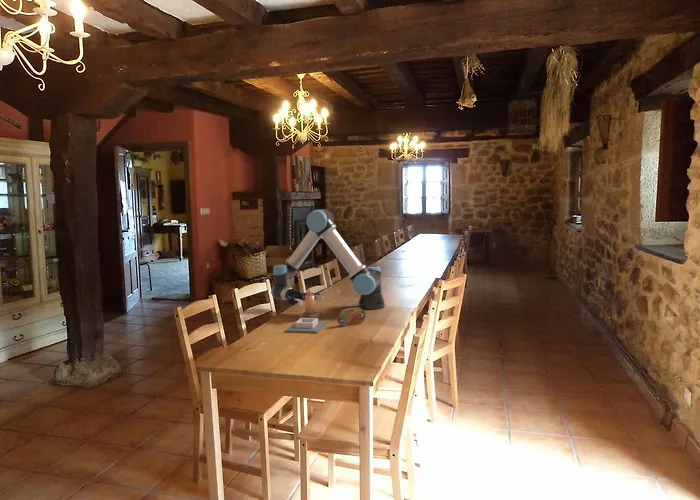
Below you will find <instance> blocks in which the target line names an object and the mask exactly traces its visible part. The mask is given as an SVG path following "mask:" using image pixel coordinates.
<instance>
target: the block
mask: <svg viewBox="0 0 700 500" xmlns="http://www.w3.org/2000/svg"><path fill="white" fill-rule="evenodd" d="M321 317H322V312H321V311H315V314H314V315H306V311H304V312H302V313H300V315H299V319H300V318H316V319H318V320H319V319H320V318H321Z"/></svg>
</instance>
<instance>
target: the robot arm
mask: <svg viewBox="0 0 700 500" xmlns="http://www.w3.org/2000/svg"><path fill="white" fill-rule="evenodd" d="M306 226H307V228H308V229H309V231H308V232H307V233H306V235H304V237H303V238H302V240H301V242H300V244H298V246H297V247H296V249H295V250H294V251H293V253H292V255H291V256H290V257H289V259H288V260H287V262H286V263H285V264H277V265H276V264H275V265H274V266H273V271H272V272H273V286H272V288H271V289H270V294H271V296H272V297H273V298H275V299H277V300H281V301H286V302H287V304H288V305H291V306H294V305H298V306H304V303H303V301H305V295H307V291H306V292H304V293H303V292H299V290H298V289H295V288H293V287H288V280H289V279H292V278H293V277H295V275H296V274H297V272H298V270H299V268H300V267H301V265H302V264H303V263H304V261H305V260H306V258H308V255H309V254H310V252H311V251H312V250H313V248H314V247H315V246H316V245H317V243H318V241H319V240H320V239H322V240H323V241H324V242H325V243H326V244H327V246H328V247H329V248H330V250H331V251H332V252H333V254H334V255H335V257H336V258H337V259H338V260H339V262H340V263H341V265H342V266H343V267H344V269H345V270H346V272H347V273H348V275H349V276H348V280H349V281H351V283H352V285H353V286H352V287H353V289H354V291H355V292H356V293H357V294H358V295H360V297H359V300H358V303H357V304H358V305H357V306H358V308H361V309H363V310H379V309H383V308H385V307H386V306H385V305H386V304H385V300H384V299H385V298H384V297H383V295H382V269H381V267H379V266H367V265H366V264H362V262H361V261H360V260H359V259H358V257H357V256H356V254H355V253H354V252H353V251H352V249H351V248H350V247H349V245H348V244H347V242H346V241H345V240H344V238H343V237H342V236H341V234H340V233H339V232H338V230H337V229H336V227H337V224H336V222H335V217H334V214H333V212H331V210H330V209H326V208H321V209H315V210H312V211H311V212H310V213H309V214H308V215H307V217H306ZM312 294H313V295H314V297H315V300H316V301H319V302H325V296H324V295H321V294H320V293H319V292H316V293H315V292H312Z"/></svg>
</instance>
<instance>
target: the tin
mask: <svg viewBox="0 0 700 500" xmlns="http://www.w3.org/2000/svg"><path fill="white" fill-rule="evenodd" d="M365 319H366V312H365V309H361V308H359V307H350V308H344V309H341V310H339V311H338V313H337V315H336V321H337V324H338V325H340V326H342V327H345V328H346V327H349V326H350V327H351V326H357V325H361V324H362V323H363V322H364V321H365Z"/></svg>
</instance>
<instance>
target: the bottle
mask: <svg viewBox="0 0 700 500" xmlns="http://www.w3.org/2000/svg"><path fill="white" fill-rule="evenodd" d="M306 290H307V291H306V293H307V295H305V300H304V305H305V306H304V307H305V312H306V315H314V314H315V312H316V301H315V300H316V299H315V297H314V295H313V294H312V293H313V291H312V289H311V288H307V289H306Z"/></svg>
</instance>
